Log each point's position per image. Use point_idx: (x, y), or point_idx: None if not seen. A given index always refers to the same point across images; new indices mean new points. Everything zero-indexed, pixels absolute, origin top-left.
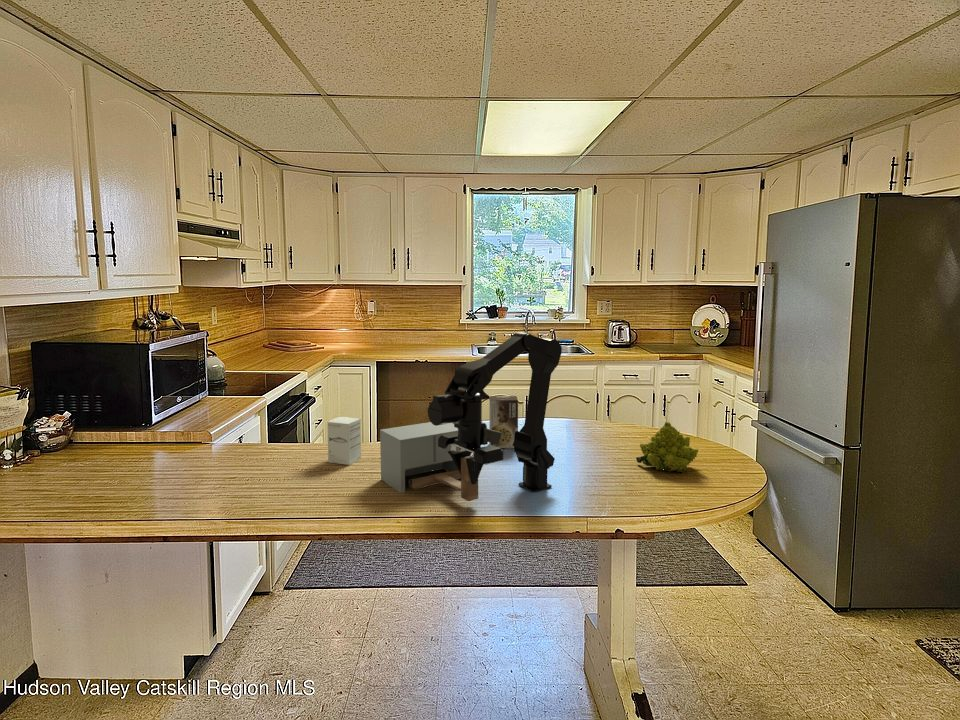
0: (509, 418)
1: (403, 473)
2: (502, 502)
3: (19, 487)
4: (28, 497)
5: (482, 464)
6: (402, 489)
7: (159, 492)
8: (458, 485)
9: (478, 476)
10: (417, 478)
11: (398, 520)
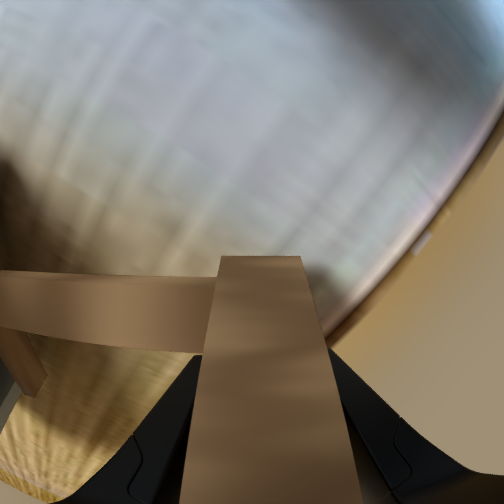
0: None
1: (4, 408)
2: (320, 83)
3: (25, 492)
4: (43, 500)
5: (451, 471)
6: None
7: (32, 482)
8: (153, 333)
9: (364, 383)
10: (16, 380)
11: None
